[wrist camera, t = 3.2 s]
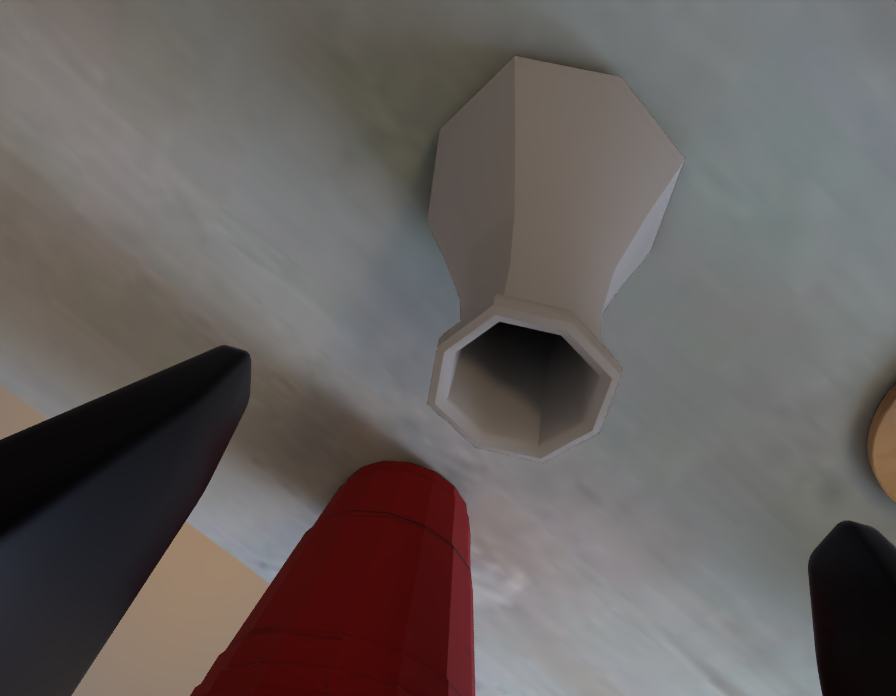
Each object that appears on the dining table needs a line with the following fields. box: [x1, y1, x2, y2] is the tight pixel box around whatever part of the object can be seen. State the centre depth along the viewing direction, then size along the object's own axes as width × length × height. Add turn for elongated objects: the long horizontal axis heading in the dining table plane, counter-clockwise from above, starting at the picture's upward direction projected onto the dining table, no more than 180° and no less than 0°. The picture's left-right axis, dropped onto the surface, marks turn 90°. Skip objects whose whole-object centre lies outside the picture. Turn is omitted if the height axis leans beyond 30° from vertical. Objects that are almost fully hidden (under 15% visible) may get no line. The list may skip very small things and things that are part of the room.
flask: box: [427, 56, 685, 463], centre depth 15 cm, size 7×7×10 cm
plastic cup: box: [190, 461, 475, 696], centre depth 23 cm, size 11×11×12 cm
